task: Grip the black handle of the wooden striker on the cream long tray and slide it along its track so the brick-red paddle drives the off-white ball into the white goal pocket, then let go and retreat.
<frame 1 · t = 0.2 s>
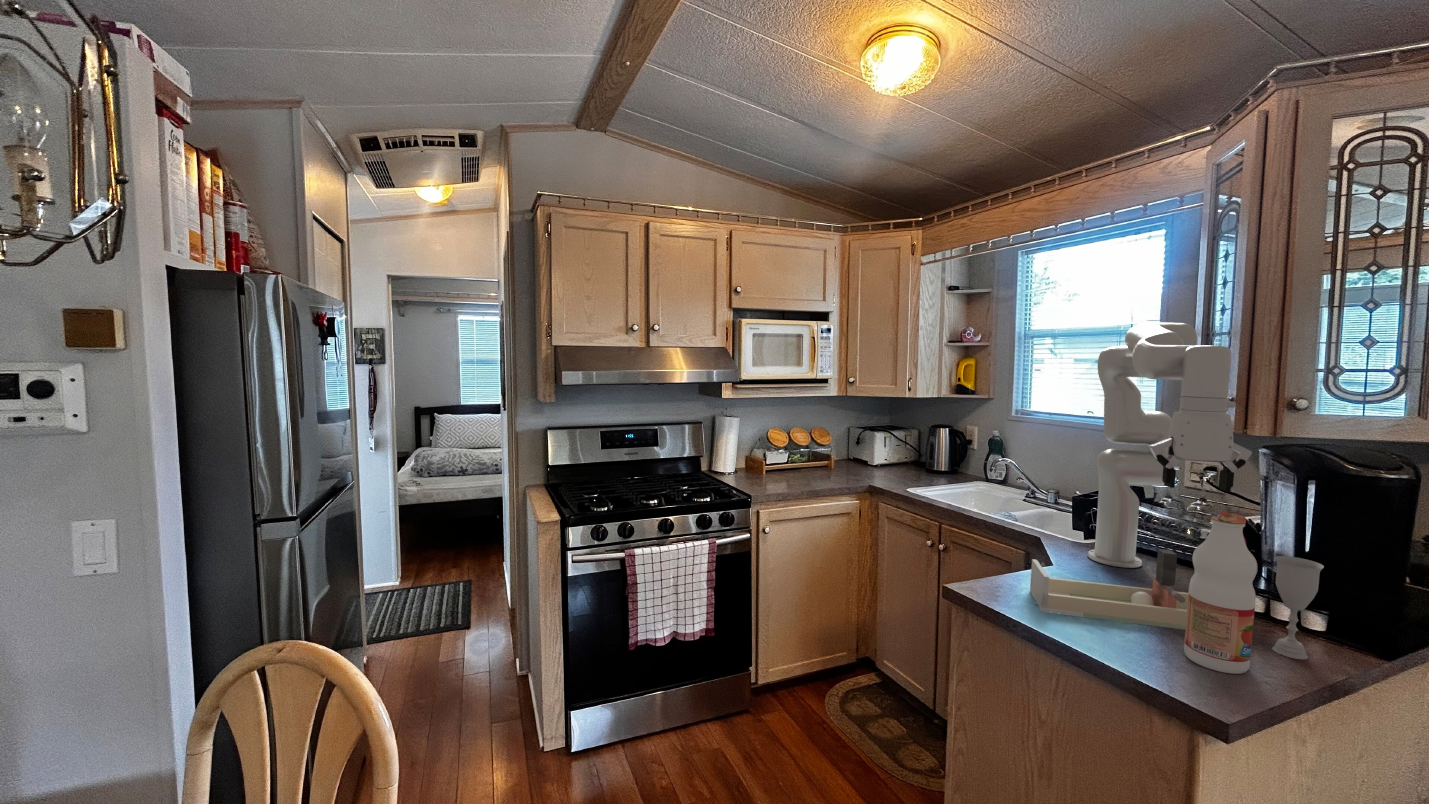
hand: (1196, 488, 123), 30 cm above the counter, tool pointing down, fingers open, 9 cm apart
pepper mill: (1222, 610, 135), on the counter
cream long tray: (1115, 610, 133), on the counter
ball: (1142, 600, 131), point 3 cm above the counter, touching cream long tray
fruit juice: (1215, 662, 111), on the counter
striker: (1165, 581, 130), point 8 cm above the counter, slide at 0.0 cm
chalice: (1289, 653, 115), on the counter
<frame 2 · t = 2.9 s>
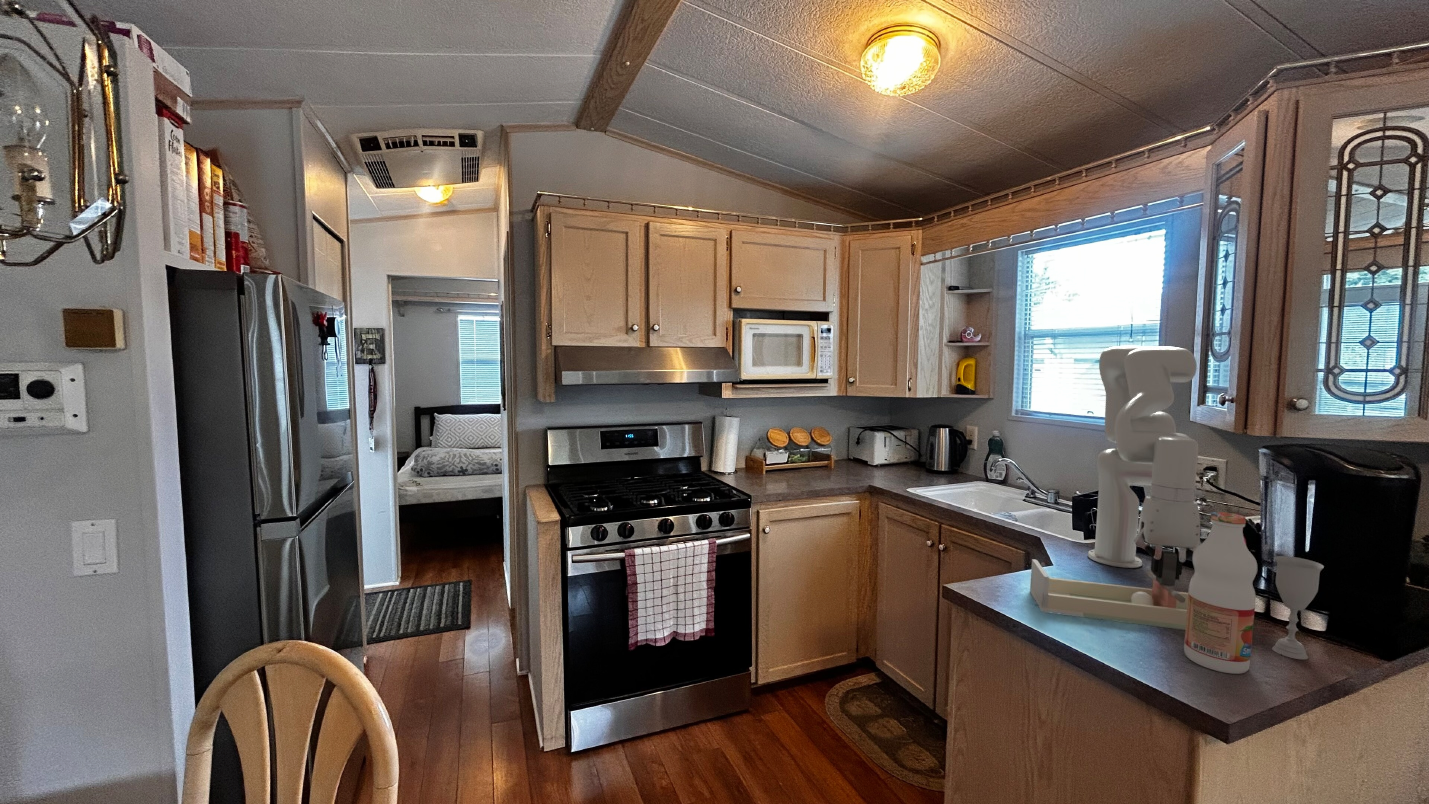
hand: (1165, 576, 130), 9 cm above the counter, tool pointing down, fingers closed on striker, 2 cm apart
striker: (1165, 581, 130), point 8 cm above the counter, slide at 0.0 cm, touching gripper
everything else where it was.
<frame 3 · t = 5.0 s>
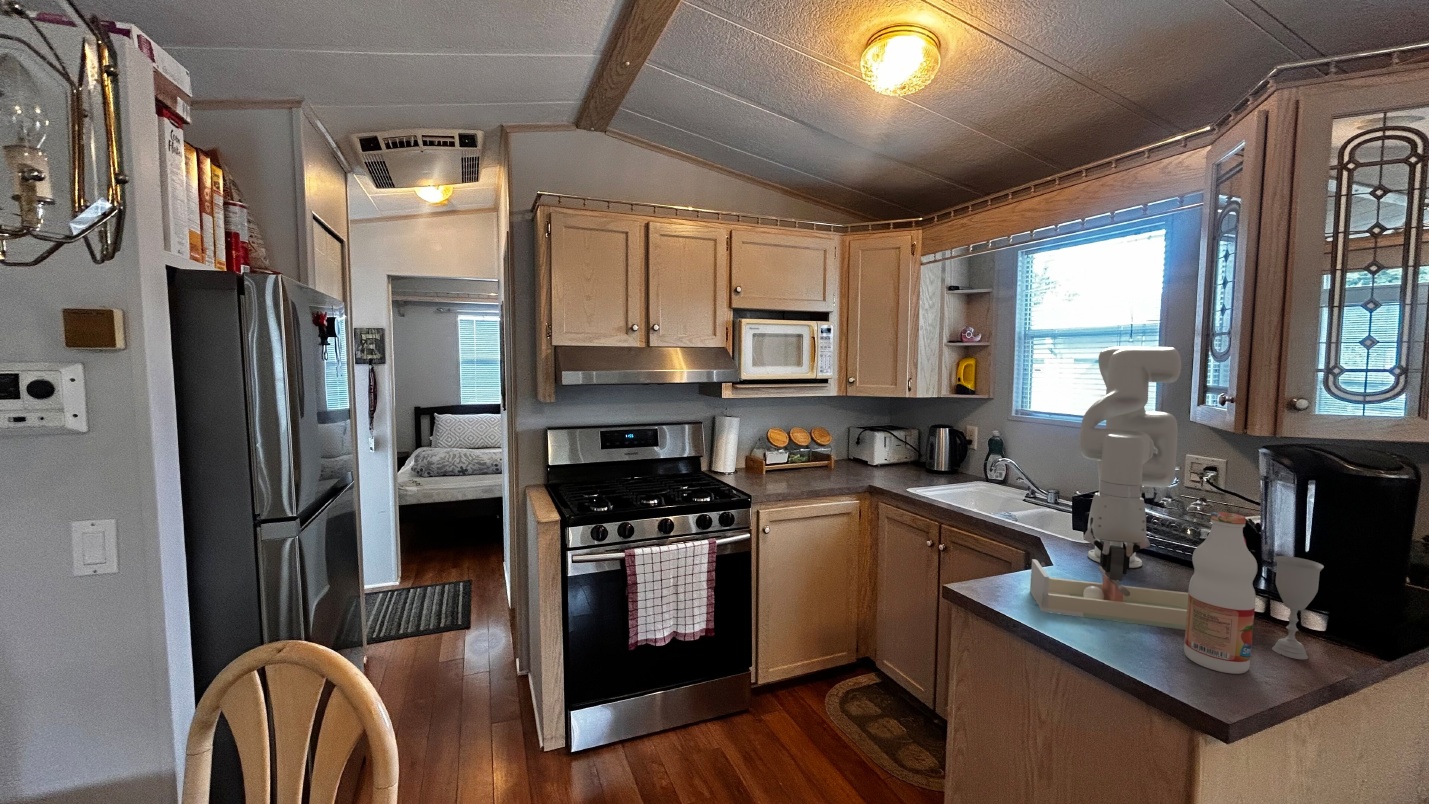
hand: (1113, 570, 132), 9 cm above the counter, tool pointing down, fingers closed on striker, 2 cm apart
ball: (1093, 595, 134), point 3 cm above the counter, tilted 92°, touching cream long tray
striker: (1113, 575, 132), point 8 cm above the counter, slide at 9.8 cm, touching gripper
everything else where it was.
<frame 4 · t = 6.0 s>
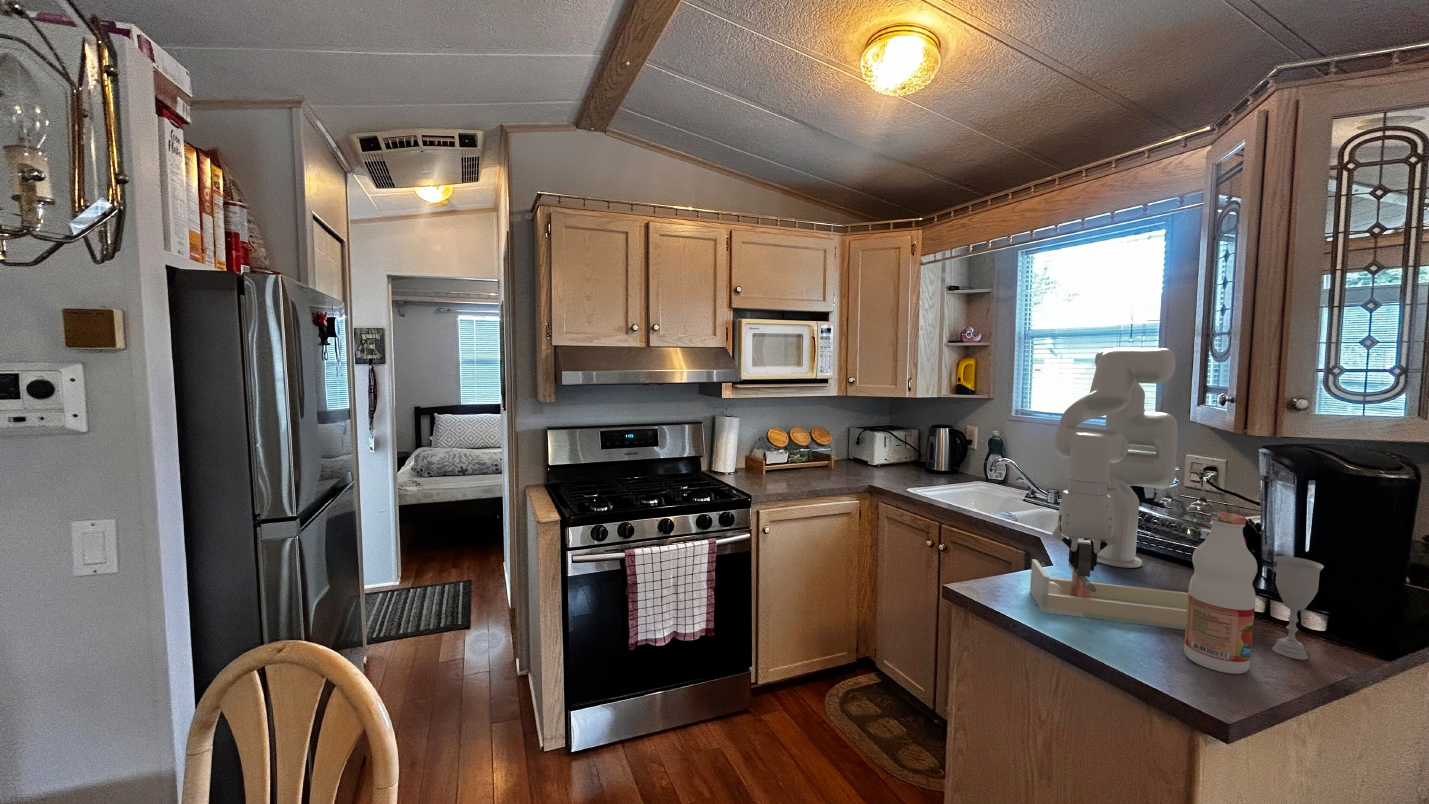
hand: (1082, 567, 134), 9 cm above the counter, tool pointing down, fingers closed on striker, 2 cm apart
ball: (1051, 590, 136), point 3 cm above the counter, tilted 152°, touching cream long tray
striker: (1081, 572, 134), point 8 cm above the counter, slide at 16.1 cm, touching gripper
everything else where it was.
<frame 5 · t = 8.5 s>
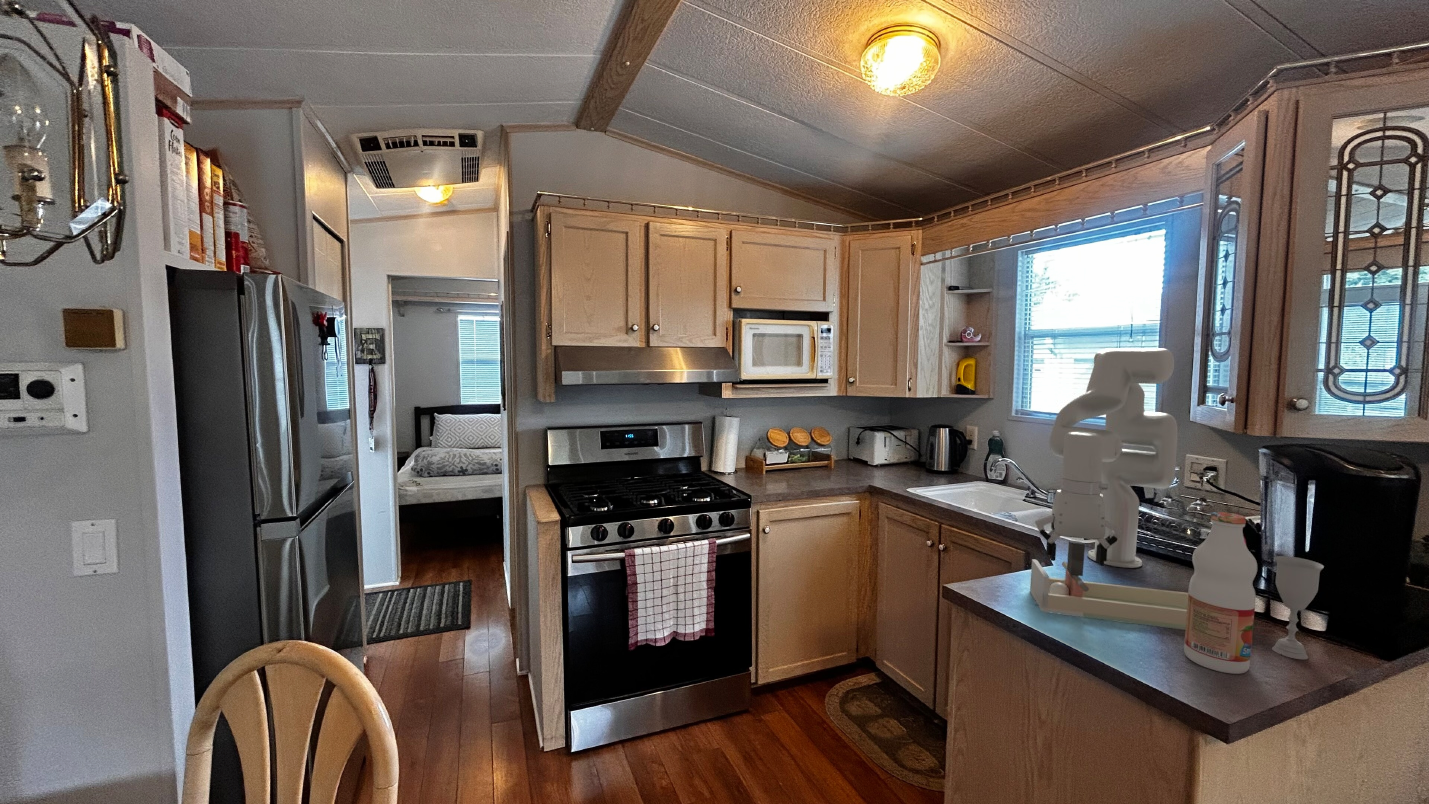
hand: (1075, 561, 135), 10 cm above the counter, tool pointing down, fingers open, 9 cm apart
ball: (1059, 591, 136), point 3 cm above the counter, tilted 107°, touching cream long tray
striker: (1074, 571, 135), point 8 cm above the counter, slide at 17.5 cm
everything else where it was.
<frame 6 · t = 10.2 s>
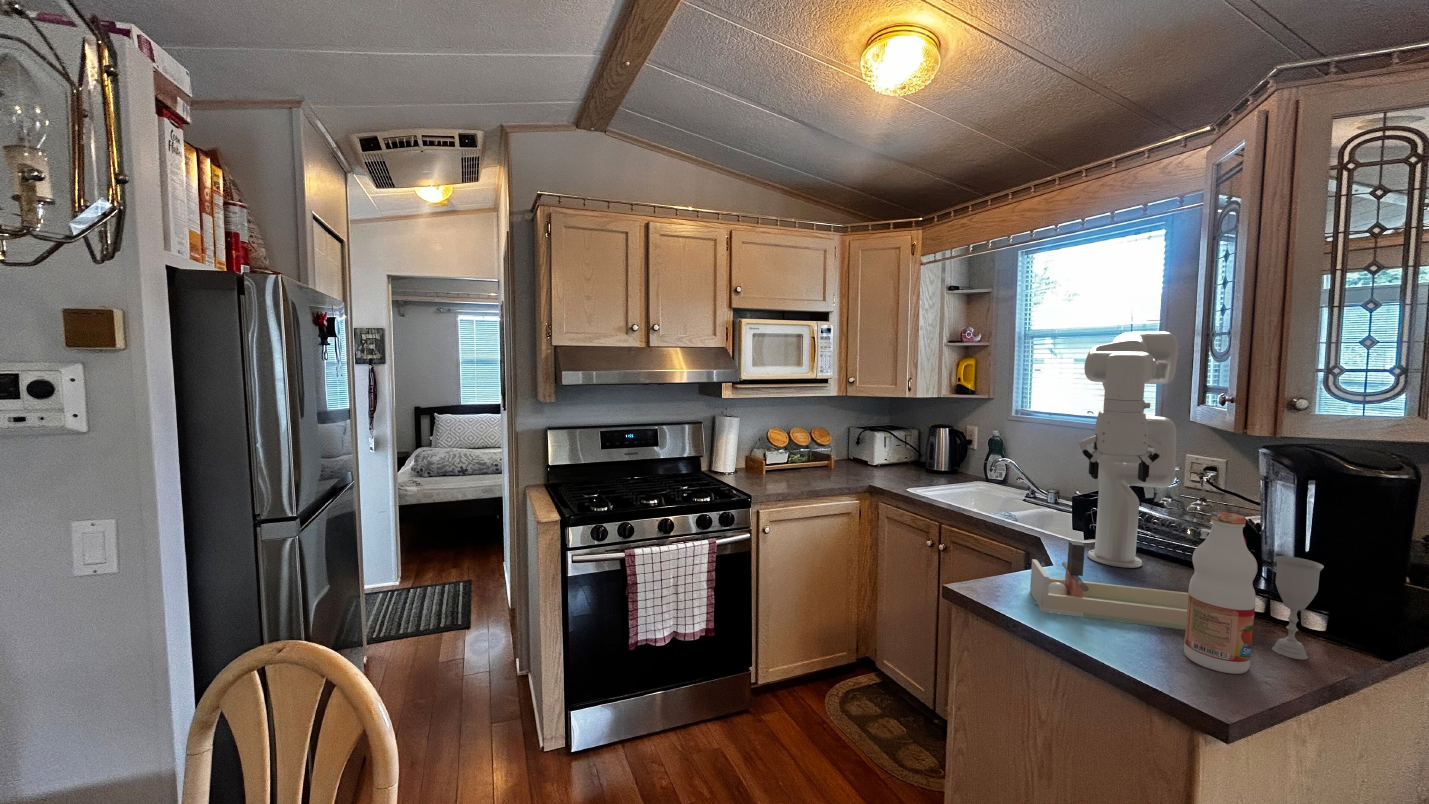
hand: (1117, 479, 139), 28 cm above the counter, tool pointing down, fingers open, 9 cm apart
ball: (1057, 591, 136), point 3 cm above the counter, tilted 117°, touching cream long tray
everything else where it was.
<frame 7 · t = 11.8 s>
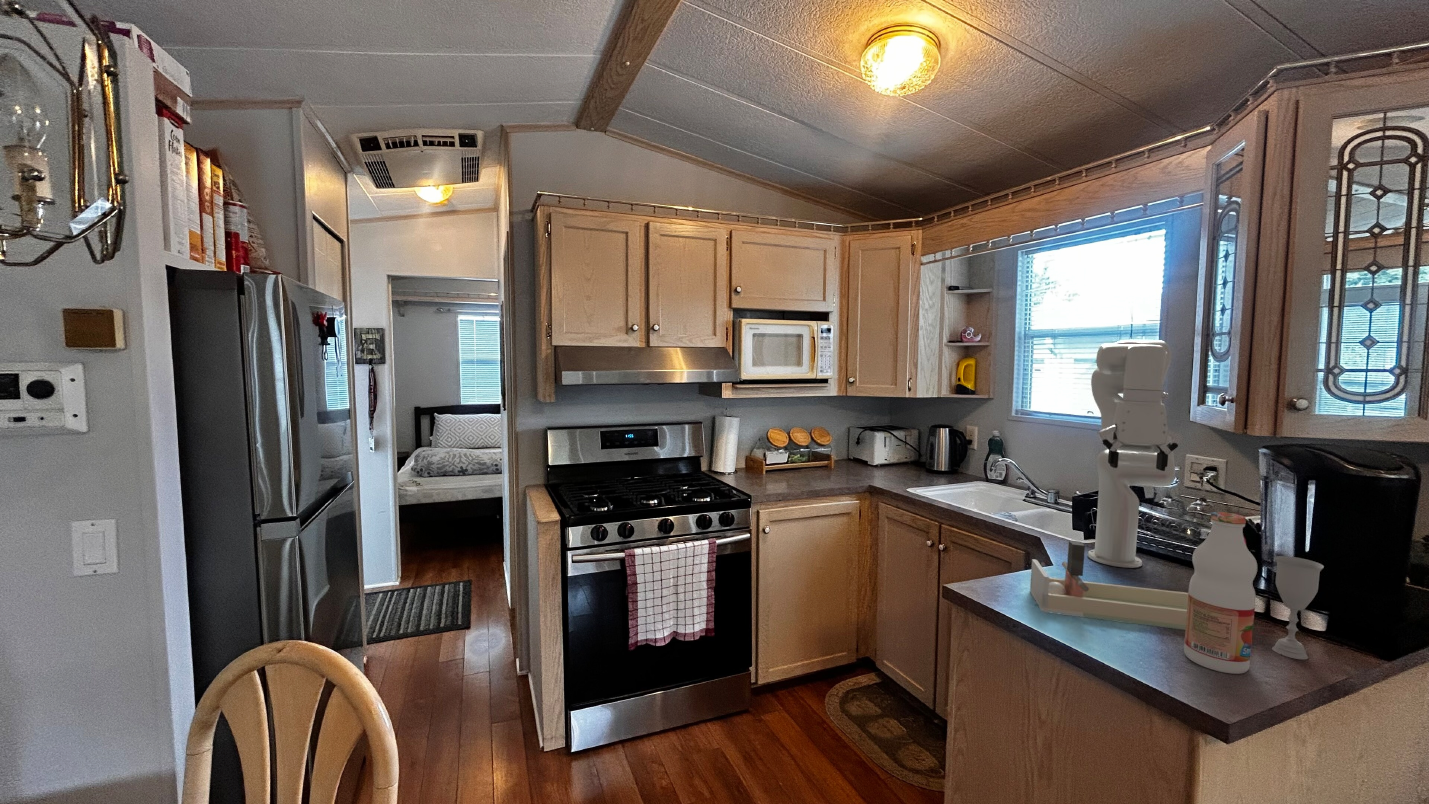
hand: (1136, 468, 142), 30 cm above the counter, tool pointing down, fingers open, 9 cm apart
ball: (1055, 590, 136), point 3 cm above the counter, tilted 127°, touching cream long tray
everything else where it was.
at the end: ball inside the target area on the cream long tray (0.2 cm from its centre), point 3.0 cm above the cream long tray's base; striker slide at 17.5 cm; the gripper is holding nothing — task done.
